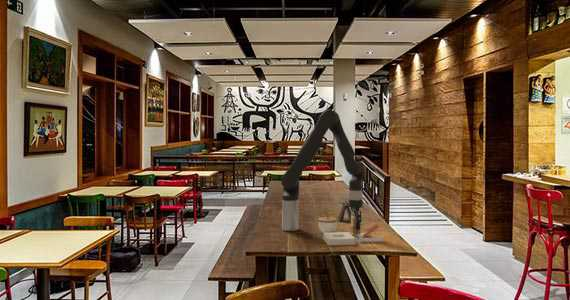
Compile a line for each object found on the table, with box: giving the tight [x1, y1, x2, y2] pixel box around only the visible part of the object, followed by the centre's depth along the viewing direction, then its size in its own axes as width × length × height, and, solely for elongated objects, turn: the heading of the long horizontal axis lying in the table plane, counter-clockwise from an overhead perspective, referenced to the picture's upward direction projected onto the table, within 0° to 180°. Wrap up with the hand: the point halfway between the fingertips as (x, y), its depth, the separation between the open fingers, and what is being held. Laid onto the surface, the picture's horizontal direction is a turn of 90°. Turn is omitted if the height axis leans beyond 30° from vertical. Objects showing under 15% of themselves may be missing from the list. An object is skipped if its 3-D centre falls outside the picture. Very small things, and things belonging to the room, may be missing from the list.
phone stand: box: [337, 200, 351, 223], centre depth 274 cm, size 9×6×12 cm, turn 95°
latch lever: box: [358, 224, 380, 238], centre depth 224 cm, size 12×3×2 cm, turn 94°
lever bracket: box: [354, 232, 385, 244], centre depth 224 cm, size 14×7×3 cm, turn 95°
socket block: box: [322, 231, 357, 246], centre depth 223 cm, size 14×14×3 cm
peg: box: [350, 216, 361, 237], centre depth 237 cm, size 4×4×10 cm
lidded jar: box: [317, 215, 338, 234], centre depth 243 cm, size 11×11×9 cm
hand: (356, 227), depth 237 cm, fingers open, 8 cm apart
